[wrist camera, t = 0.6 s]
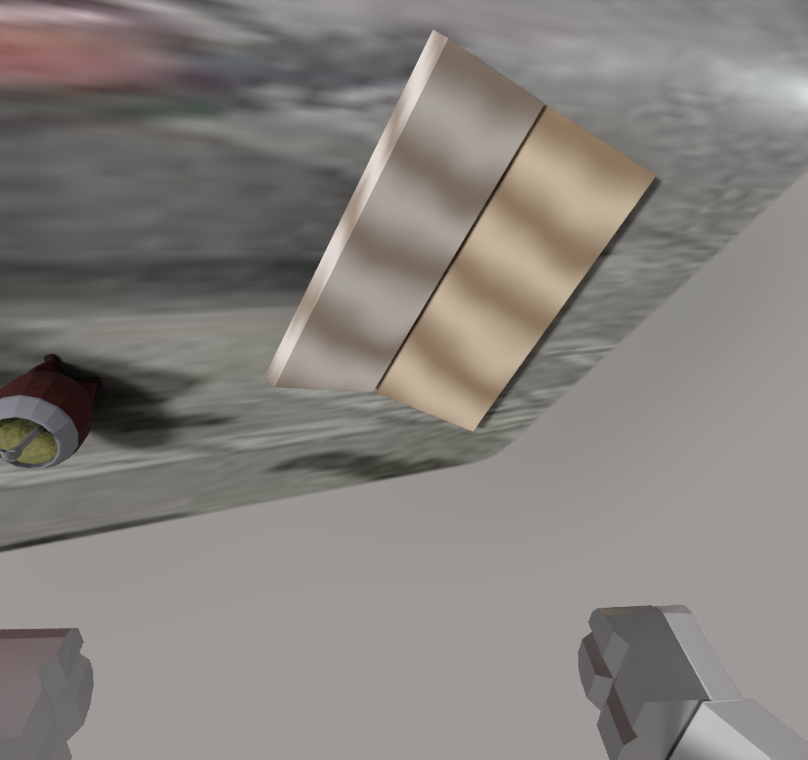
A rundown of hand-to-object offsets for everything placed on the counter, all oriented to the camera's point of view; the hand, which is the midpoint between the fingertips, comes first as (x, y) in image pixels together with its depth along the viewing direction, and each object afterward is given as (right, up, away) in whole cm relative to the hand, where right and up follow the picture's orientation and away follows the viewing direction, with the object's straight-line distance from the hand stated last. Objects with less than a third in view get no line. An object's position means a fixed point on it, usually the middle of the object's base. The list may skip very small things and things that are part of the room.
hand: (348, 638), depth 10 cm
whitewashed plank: (0, +14, +34) cm, 37 cm away
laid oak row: (+9, +12, +40) cm, 43 cm away
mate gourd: (-28, +4, +41) cm, 50 cm away
